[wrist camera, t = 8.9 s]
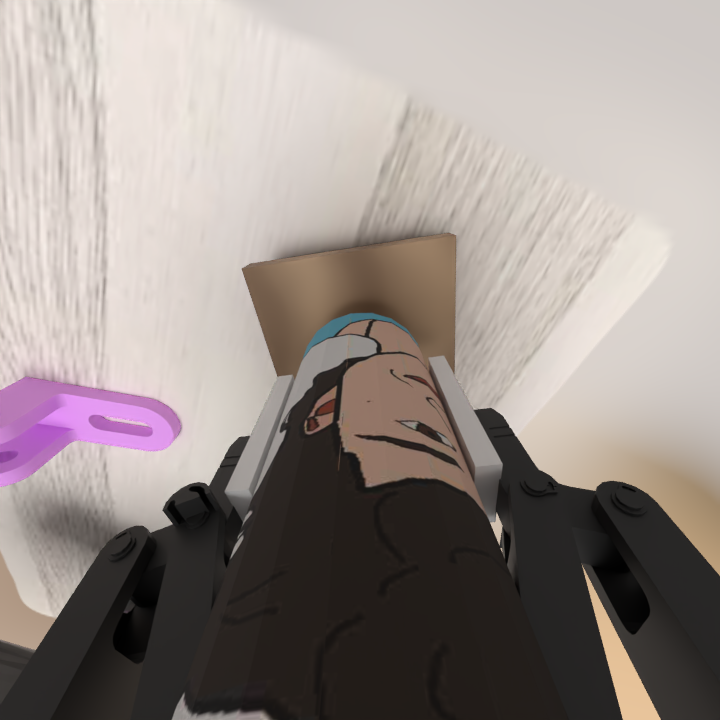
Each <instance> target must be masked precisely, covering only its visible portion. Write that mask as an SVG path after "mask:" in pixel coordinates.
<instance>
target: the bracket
mask: <svg viewBox="0 0 720 720" xmlns="http://www.w3.org/2000/svg"><path fill="white" fill-rule="evenodd" d="M102 416H107V417H113V418H119V419H125V420H131V421H137V422H143V423H145V424H147V425H149V426H150V427H151V428H150V427H144V426H138V425H131V424H125V423H119V422H113V421H109V420H106V419H105V418H103V417H102ZM180 429H181V425H180V421H179V419H178V417H177V415H176V414H175V413H174V412H173V411H172V410H171V409H170V408H169V407H168V406H166V405H165V404H163V403H161V402H159V401H156V400H154V399H150V398H145V397H139V396H133V395H128V394H122V393H116V392H110V391H105V390H99V389H93V388H87V387H82V386H76V385H70V384H64V383H59V382H53V381H47V380H41V379H36V378H30V377H25V378H23V379H21V380H19V381H17V382H15V383H13V384H12V385H10V386H8V387H6V388H4V389H2V390H0V487H2V486H6V485H10V484H13V483H16V482H18V481H21V480H23V479H25V478H27V477H28V476H30V475H32V474H33V473H34V472H36V471H37V470H38V469H39V468H40V467H42V466H43V465H44V464H45V463H46V462H48V461H49V460H50V459H51V458H52V457H54V456H55V455H56V454H57V453H58V452H60V451H61V450H62V449H63V448H64V447H66V446H67V445H68V444H69V443H71V442H73V441H77V440H80V441H86V442H93V443H99V444H106V445H112V446H119V447H125V448H132V449H138V450H145V451H159V450H163V449H165V448H167V447H168V446H170V444H171V443H172V442H173V441H174V439H175V438H176V437H177V436H178V434H179V432H180Z"/></svg>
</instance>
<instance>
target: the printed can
mask: <svg viewBox="0 0 720 720" xmlns="http://www.w3.org/2000/svg"><path fill="white" fill-rule="evenodd" d="M172 720H569V718H568V716H567V713H566V711H565V708H564V706H563V703H562V701H561V698H560V696H559V694H558V691H557V689H556V686H555V684H554V681H553V679H552V676H551V674H550V671H549V669H548V666H547V664H546V661H545V659H544V656H543V654H542V651H541V649H540V646H539V644H538V641H537V639H536V636H535V634H534V632H533V629H532V627H531V624H530V622H529V619H528V617H527V614H526V612H525V609H524V607H523V604H522V602H521V598H520V596H519V593H518V591H517V588H516V586H515V583H514V581H513V578H512V576H511V574H510V571H509V569H508V566H507V564H506V561H505V559H504V556H503V554H502V551H501V549H500V546H499V544H498V541H497V539H496V537H495V534H494V532H493V529H492V527H491V524H490V522H489V519H488V517H487V514H486V512H485V509H484V507H483V504H482V502H481V499H480V497H479V494H478V492H477V489H476V487H475V484H474V482H473V480H472V477H471V475H470V472H469V470H468V467H467V465H466V462H465V460H464V457H463V455H462V452H461V450H460V447H459V445H458V442H457V440H456V437H455V435H454V433H453V430H452V428H451V425H450V423H449V420H448V418H447V415H446V413H445V410H444V408H443V405H442V403H441V400H440V398H439V395H438V393H437V390H436V388H435V386H434V383H433V381H432V378H431V376H430V373H429V371H428V368H427V366H426V363H425V361H424V358H423V356H422V353H421V351H420V348H419V346H418V343H417V342H416V341H415V339H414V338H413V337H412V335H411V334H410V333H409V331H408V330H407V329H406V328H405V327H403V326H402V325H400V324H399V323H397V322H396V321H394V320H393V319H391V318H388V317H384V316H381V315H377V314H374V313H351V314H348V315H345V316H342V317H339V318H336V319H333V320H331V321H330V322H329V323H327V324H326V325H325V326H323V327H322V328H321V329H319V330H318V331H317V332H316V334H315V335H314V337H313V338H312V340H311V341H310V343H309V344H308V346H307V348H306V351H305V354H304V356H303V359H302V362H301V365H300V367H299V370H298V373H297V376H296V379H295V381H294V384H293V387H292V390H291V392H290V395H289V398H288V401H287V403H286V406H285V409H284V412H283V414H282V417H281V420H280V423H279V425H278V428H277V431H276V434H275V436H274V439H273V442H272V445H271V447H270V450H269V453H268V456H267V458H266V461H265V464H264V467H263V469H262V472H261V475H260V478H259V480H258V483H257V486H256V489H255V491H254V494H253V497H252V500H251V502H250V505H249V508H248V511H247V514H246V516H245V519H244V522H243V525H242V527H241V530H240V533H239V536H238V538H237V541H236V544H235V547H234V549H233V552H232V555H231V558H230V560H229V563H228V566H227V569H226V571H225V574H224V577H223V580H222V582H221V585H220V588H219V591H218V593H217V596H216V599H215V602H214V604H213V607H212V610H211V613H210V615H209V618H208V621H207V624H206V626H205V629H204V632H203V635H202V637H201V640H200V643H199V646H198V649H197V651H196V654H195V657H194V660H193V662H192V665H191V668H190V671H189V673H188V676H187V679H186V682H185V684H184V687H183V690H182V693H181V695H180V698H179V701H178V704H177V706H176V709H175V712H174V715H173V717H172Z"/></svg>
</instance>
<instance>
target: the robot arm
mask: <svg viewBox="0 0 720 720" xmlns="http://www.w3.org/2000/svg"><path fill="white" fill-rule="evenodd" d="M428 367H429V373H430V376H431V378H432V381H433V383H434V386H435V388H436V390H437V393H438V395H439V398H440V400H441V403H442V405H443V408H444V410H445V413H446V415H447V418H448V420H449V423H450V425H451V428H452V430H453V433H454V435H455V437H456V440H457V442H458V445H459V447H460V450H461V452H462V455H463V457H464V460H465V462H466V465H467V467H468V470H469V472H470V475H471V477H472V480H473V482H474V484H475V487H476V489H477V492H478V494H479V497H480V499H481V502H482V504H483V507H484V509H485V512H486V514H487V517H488V519H489V522H495V520H496V512H497V514H498V516H499V518H500V521H501V523H502V525H503V527H502V533H501V540H500V548H502V551H503V556H504V559H505V561H506V564H507V566H508V569H509V571H510V574H511V576H512V578H513V581H514V583H515V586H516V588H517V591H518V593H519V596H520V598H521V602H522V604H523V607H524V609H525V612H526V614H527V617H528V619H529V622H530V624H531V627H532V629H533V632H534V634H535V636H536V639H537V641H538V644H539V646H540V649H541V651H542V654H543V656H544V659H545V661H546V664H547V666H548V669H549V671H550V674H551V676H552V679H553V681H554V684H555V686H556V689H557V691H558V694H559V696H560V698H561V701H562V703H563V706H564V708H565V711H566V713H567V716H568V718H569V720H623V719H622V715H621V711H620V707H619V704H618V700H617V696H616V692H615V688H614V685H613V681H612V677H611V674H610V670H609V666H608V662H607V659H606V655H605V651H604V647H603V643H602V640H601V636H600V632H599V628H598V624H597V620H596V617H595V613H594V609H593V606H592V602H591V598H590V594H589V591H588V586H587V583H586V579H585V575H584V571H583V568H582V565H583V567H584V569H585V571H586V573H587V575H588V577H589V579H590V581H591V583H592V585H593V587H594V589H595V591H596V593H597V595H598V597H599V599H600V601H601V603H602V605H603V607H604V608H605V610H606V612H607V614H608V616H609V618H610V620H611V622H612V624H613V626H614V628H615V630H616V632H617V634H618V636H619V638H620V640H621V642H622V644H623V646H624V648H625V650H626V652H627V653H628V656H629V658H630V660H631V661H632V663H633V665H634V667H635V669H636V671H637V673H638V675H639V677H640V679H641V681H642V683H643V685H644V687H645V689H646V691H647V693H648V695H649V697H650V699H651V701H652V703H653V704H654V707H655V708H656V711H657V713H658V715H659V717H660V718H661V720H720V576H719V574H718V573H717V572H716V571H715V570H714V569H713V568H712V566H711V565H710V564H709V563H708V562H707V560H706V559H705V558H704V557H703V556H702V555H701V553H700V552H699V551H698V550H697V549H696V548H695V547H694V545H693V544H692V543H691V542H690V541H689V539H688V538H687V537H686V536H685V535H684V534H683V532H682V531H681V530H680V529H679V528H678V527H677V525H676V524H675V523H674V522H673V521H672V520H671V518H670V517H669V516H668V515H667V514H666V512H665V511H664V510H663V509H662V508H661V507H660V506H659V504H658V503H657V502H656V501H655V500H654V499H653V498H651V497H650V496H649V495H648V494H647V493H645V492H643V491H642V490H640V489H638V488H637V487H634V486H632V485H629V484H626V483H623V482H617V481H608V482H602V484H600V485H599V486H598V487H597V489H596V491H592V490H586V489H580V488H574V487H569V486H565V485H562V484H559V483H557V482H556V481H555V480H554V479H553V478H552V477H551V476H550V475H548V474H546V473H544V472H543V471H540V470H538V468H537V467H536V466H535V464H534V463H533V461H532V460H531V458H530V457H529V455H528V454H527V452H526V450H525V449H524V447H523V446H522V444H521V443H520V441H519V440H518V438H517V437H516V436H515V434H514V432H513V431H512V429H511V428H509V425H508V423H507V422H506V420H505V419H504V417H503V416H502V415H501V414H499V413H498V412H496V411H495V410H494V409H492V408H487V409H478V410H473V408H472V406H471V405H470V403H469V401H468V399H467V397H466V395H465V393H464V392H463V390H462V388H461V386H460V384H459V382H458V381H457V379H456V377H455V375H454V373H453V371H452V369H451V368H450V366H449V364H448V362H447V360H446V358H445V357H444V356H437V357H429V358H428ZM294 381H295V380H294V377H293V375H286V376H278V378H277V380H276V382H275V384H274V386H273V388H272V391H271V393H270V395H269V397H268V399H267V401H266V403H265V406H264V408H263V410H262V412H261V414H260V416H259V419H258V421H257V423H256V425H255V427H254V429H253V431H252V434H251V436H245V437H239V438H238V439H237V440H236V441H235V442H234V443H233V444H232V445H231V446H230V448H229V449H228V451H227V453H226V455H225V457H224V459H223V461H222V463H221V465H220V468H218V470H217V472H216V474H215V476H214V478H213V480H212V482H211V483H210V485H209V486H207V485H206V484H205V483H200V482H197V483H193V484H189V485H187V486H185V487H183V488H181V489H180V490H179V491H177V492H176V493H175V494H173V495H172V496H171V498H170V499H169V500H168V501H167V502H166V504H165V506H164V508H163V512H164V513H165V514H166V515H167V517H168V518H169V519H170V521H171V522H172V523H173V525H170V526H168V527H165V528H163V529H160V530H157V531H155V532H152V533H150V532H149V531H148V530H147V529H146V528H145V527H144V526H134V527H131V528H128V529H126V530H124V531H123V532H121V533H119V534H117V535H116V536H115V537H114V538H113V539H112V540H110V541H109V542H108V543H107V544H106V545H105V547H104V548H103V549H102V550H101V552H100V553H99V555H98V556H97V558H96V559H95V561H94V562H93V564H92V565H91V567H90V568H89V570H88V571H87V573H86V574H85V576H84V578H83V579H82V581H81V582H80V584H79V585H78V587H77V588H76V590H75V591H74V593H73V594H72V596H71V597H70V599H69V600H68V602H67V604H66V605H65V607H64V608H63V610H62V611H61V613H60V614H59V616H58V617H57V619H56V620H55V622H54V624H53V625H52V626H51V628H50V630H49V631H48V633H47V634H46V636H45V637H44V639H43V640H42V642H41V643H40V645H39V646H38V648H37V649H36V650H34V649H30V648H26V647H23V646H20V645H16V644H13V643H10V642H6V641H3V640H0V720H172V717H173V715H174V712H175V709H176V706H177V704H178V701H179V698H180V695H181V693H182V690H183V687H184V684H185V682H186V679H187V676H188V673H189V671H190V668H191V665H192V662H193V660H194V657H195V654H196V651H197V649H198V646H199V643H200V640H201V637H202V635H203V632H204V629H205V626H206V624H207V621H208V618H209V615H210V613H211V610H212V607H213V604H214V602H215V599H216V596H217V593H218V591H219V588H220V585H221V582H222V580H223V577H224V574H225V571H226V569H227V566H228V563H229V560H230V558H231V555H232V552H233V549H234V547H235V544H236V541H237V538H238V536H239V533H240V530H241V527H242V525H243V522H244V519H245V516H246V514H247V511H248V508H249V505H250V502H251V500H252V497H253V494H254V491H255V489H256V486H257V483H258V480H259V478H260V475H261V472H262V469H263V467H264V464H265V461H266V458H267V456H268V453H269V450H270V447H271V445H272V442H273V439H274V436H275V434H276V431H277V428H278V425H279V423H280V420H281V417H282V414H283V412H284V409H285V406H286V403H287V401H288V398H289V395H290V392H291V390H292V387H293V384H294ZM581 563H582V564H581Z"/></svg>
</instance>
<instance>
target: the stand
mask: <svg viewBox="0 0 720 720" xmlns="http://www.w3.org/2000/svg"><path fill="white" fill-rule="evenodd" d="M242 271H243V274H244V277H245V280H246V283H247V286H248V289H249V292H250V295H251V298H252V301H253V304H254V307H255V310H256V313H257V316H258V319H259V322H260V325H261V328H262V331H263V334H264V337H265V340H266V343H267V346H268V349H269V352H270V355H271V358H272V361H273V364H274V367H275V370H276V373H277V376H286V375H293V377H294V380H295V379H296V376H297V373H298V370H299V367H300V365H301V362H302V359H303V356H304V354H305V351H306V348H307V346H308V344H309V343H310V341H311V340H312V338H313V337H314V335H315V334H316V332H317V331H318V330H319V329H321V328H322V327H323V326H325V325H326V324H327V323H329V322H330V321H331V320H333V319H336V318H339V317H342V316H345V315H348V314H351V313H374V314H377V315H381V316H384V317H388V318H391V319H393V320H394V321H396V322H397V323H399V324H400V325H402V326H403V327H405V328H406V329H407V330H408V331H409V333H410V334H411V335H412V337H413V338H414V339H415V341H416V342H417V343H418V346H419V348H420V351H421V353H422V356H423V358H424V361H425V363H426V366H427V368H428V371H429V367H428V358H429V357H437V356H444V357H445V358H446V360H447V362H448V364H449V366H450V368H451V369H452V371H453V373H454V363H455V283H456V235H453V234H450V233H444V234H438V235H432V236H425V237H419V238H412V239H406V240H399V241H393V242H387V243H380V244H374V245H367V246H361V247H354V248H348V249H342V250H335V251H329V252H322V253H316V254H309V255H303V256H297V257H290V258H284V259H277V260H271V261H265V262H258V263H252V264H249V265H247V266H246V267H244V268H242Z"/></svg>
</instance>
